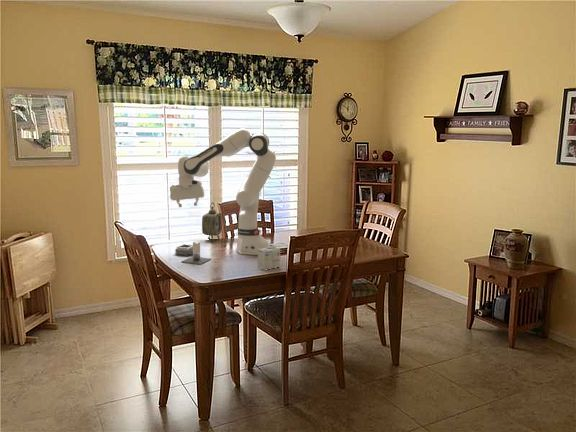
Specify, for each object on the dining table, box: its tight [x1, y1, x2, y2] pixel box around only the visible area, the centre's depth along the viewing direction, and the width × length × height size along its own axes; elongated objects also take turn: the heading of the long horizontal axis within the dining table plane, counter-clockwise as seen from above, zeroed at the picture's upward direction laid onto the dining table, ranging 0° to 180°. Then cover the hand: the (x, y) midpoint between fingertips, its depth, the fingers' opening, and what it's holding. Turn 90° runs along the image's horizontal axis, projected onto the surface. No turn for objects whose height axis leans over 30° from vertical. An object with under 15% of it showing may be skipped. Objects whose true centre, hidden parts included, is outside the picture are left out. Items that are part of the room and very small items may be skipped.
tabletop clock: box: [201, 201, 223, 242], centre depth 337 cm, size 14×9×25 cm, turn 168°
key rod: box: [192, 241, 201, 261], centre depth 284 cm, size 4×4×10 cm
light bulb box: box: [257, 246, 281, 271], centre depth 274 cm, size 11×7×11 cm, turn 129°
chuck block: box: [174, 243, 193, 257], centre depth 300 cm, size 12×12×4 cm
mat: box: [181, 255, 212, 266], centre depth 285 cm, size 12×12×1 cm
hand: (187, 206), depth 303 cm, fingers open, 8 cm apart
